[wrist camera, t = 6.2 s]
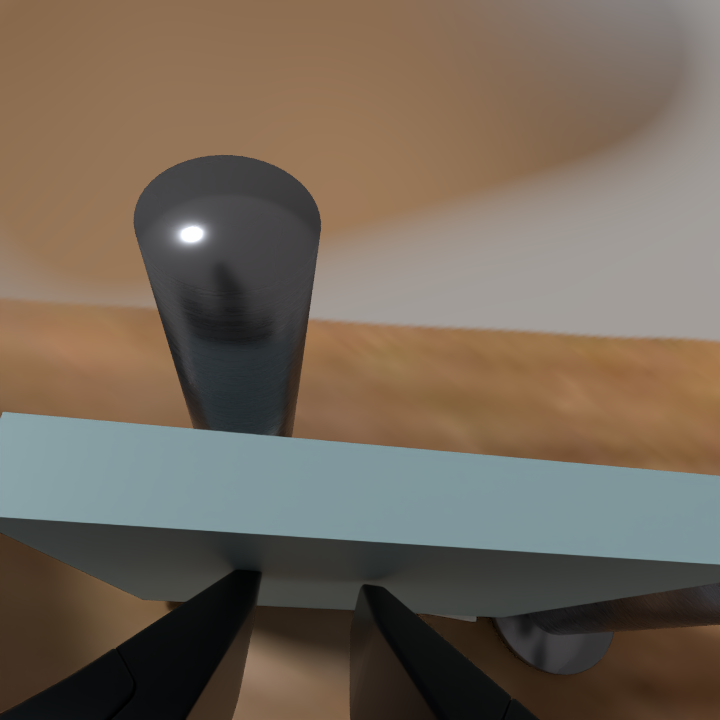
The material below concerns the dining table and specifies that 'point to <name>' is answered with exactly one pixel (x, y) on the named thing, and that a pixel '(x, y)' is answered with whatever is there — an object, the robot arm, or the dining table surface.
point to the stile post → (232, 286)
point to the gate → (349, 518)
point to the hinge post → (601, 626)
